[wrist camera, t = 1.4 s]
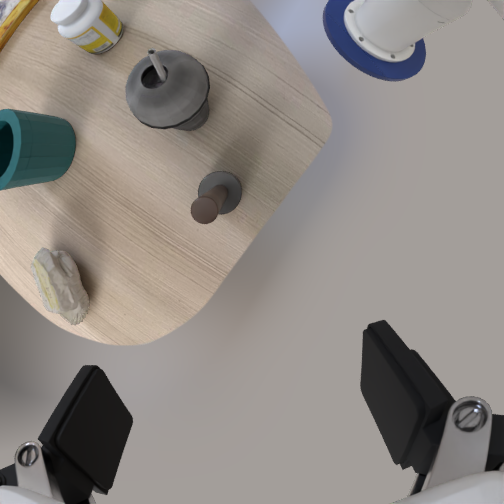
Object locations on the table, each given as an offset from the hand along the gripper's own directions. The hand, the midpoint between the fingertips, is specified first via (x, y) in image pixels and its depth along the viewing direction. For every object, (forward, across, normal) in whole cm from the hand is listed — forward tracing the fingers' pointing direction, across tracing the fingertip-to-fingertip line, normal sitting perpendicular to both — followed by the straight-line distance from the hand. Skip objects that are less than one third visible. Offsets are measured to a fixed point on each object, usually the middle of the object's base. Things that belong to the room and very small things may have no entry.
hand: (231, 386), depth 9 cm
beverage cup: (+28, +3, -15) cm, 32 cm away
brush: (+28, +1, -4) cm, 28 cm away
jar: (+28, +25, -17) cm, 41 cm away
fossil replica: (+28, +27, +3) cm, 39 cm away
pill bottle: (+28, +14, -32) cm, 45 cm away
